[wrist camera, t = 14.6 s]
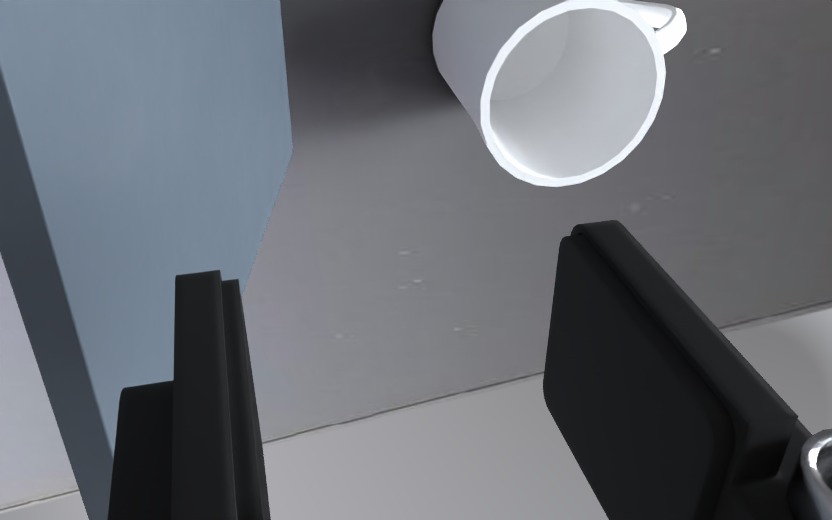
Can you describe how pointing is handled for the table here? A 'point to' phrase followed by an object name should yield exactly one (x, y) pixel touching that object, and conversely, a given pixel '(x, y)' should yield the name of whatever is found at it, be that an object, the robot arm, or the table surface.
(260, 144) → the bin lid
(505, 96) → the mug
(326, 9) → the table surface
